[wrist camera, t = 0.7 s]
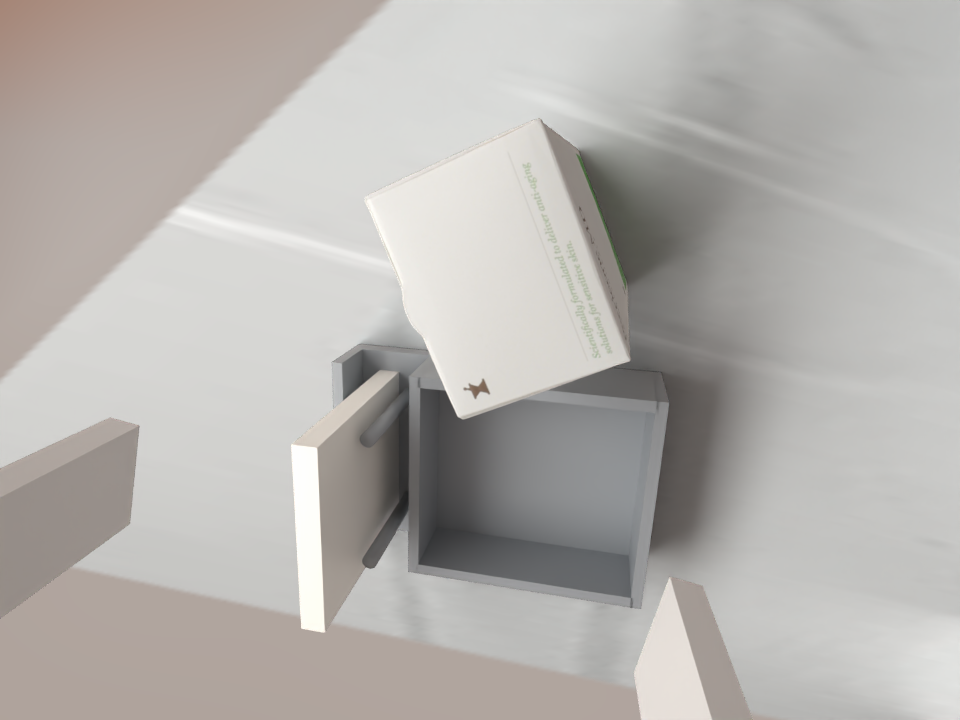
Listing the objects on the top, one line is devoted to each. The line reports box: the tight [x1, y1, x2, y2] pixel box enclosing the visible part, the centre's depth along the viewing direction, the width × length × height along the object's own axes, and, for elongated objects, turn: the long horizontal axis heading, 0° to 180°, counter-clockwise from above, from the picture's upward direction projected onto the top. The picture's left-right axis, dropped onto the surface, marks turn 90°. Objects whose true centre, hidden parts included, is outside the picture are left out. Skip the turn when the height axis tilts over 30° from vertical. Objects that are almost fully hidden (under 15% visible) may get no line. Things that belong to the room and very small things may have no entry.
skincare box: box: [364, 118, 631, 419], centre depth 27 cm, size 8×7×16 cm
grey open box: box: [291, 344, 669, 632], centre depth 32 cm, size 18×12×12 cm, turn 88°
